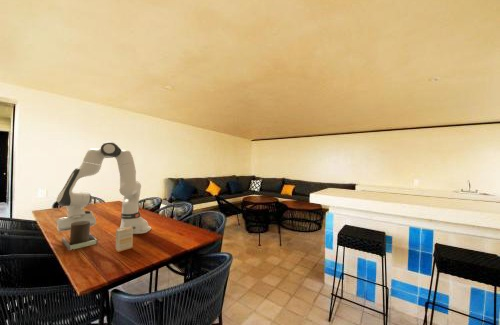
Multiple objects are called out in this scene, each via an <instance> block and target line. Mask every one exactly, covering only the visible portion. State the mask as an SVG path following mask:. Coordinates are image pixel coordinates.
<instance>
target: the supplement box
mask: <svg viewBox="0 0 500 325" xmlns="http://www.w3.org/2000/svg"><path fill="white" fill-rule="evenodd" d="M133 236H134V234H133V228H132V227H130V226H129V227H125V228H120V227H119V228H117V229H115V251H116V252H118V253H120V252H123V251H126V250H130V249H133V243H134V242H133V240H134V239H133Z"/></svg>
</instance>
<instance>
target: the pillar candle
mask: <svg viewBox="0 0 500 325" xmlns="http://www.w3.org/2000/svg"><path fill="white" fill-rule="evenodd" d="M90 229H91V226H90V221H79V222H74V223H72V224H71V230H70V234H69V235H70V237H69V245H75V244H79V243H84V242H88V241H90V238H89V234H91V232H90Z"/></svg>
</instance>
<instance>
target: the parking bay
mask: <svg viewBox="0 0 500 325" xmlns="http://www.w3.org/2000/svg"><path fill="white" fill-rule="evenodd" d="M61 241H62V243H63V244H64V246H65V247H66V249H67V250H68V251H72V249H73V250H76V249H81V248H85V247H88V246H93V245H97V244H98V239H97V238H96V237H95V236H93V234H92V233H90V234H89V241H88V242H84V243H79V244H75V245H70V242H68V241H67V239H66V238H65V237H64V236H63V237H62V239H61Z"/></svg>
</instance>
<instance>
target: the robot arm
mask: <svg viewBox="0 0 500 325" xmlns="http://www.w3.org/2000/svg"><path fill="white" fill-rule="evenodd" d="M107 158H108V159H109V158H110V159H111V158H114V159H115V160H116V163H117V167H118V173H119V193H120V195H122V196H124V197H123V200H122V203H121V204H122V205H121V214H120V215H121V216H120V220H121V222H120V226H119V229H120V228H125V227H129V226H130V227H132V228H133V235H138V234H145V233H148V232H149V231H150V230H152V227H151V226H150V225H149V223H148V221H147V220H146V219H145V218H143V217H142V216H141V214H142V212H139V202H140V195H141V190H142V189H141V188H142V185H141V182H140V181H137V179H136V178H137V171H136V166H135V162H134V160H135V159H134V157H133V155H132V152H131V151H130V150H127V149H121V148H120V147H119V146H118V145H117V144H116V143H115V142H113V141H107V142H106V141H105V142H104V143H102V145H101V146H100V148H90V149H88V150H87V151H86V153H85V156H84V158H83V161H82V163H81V164H80V166H79V167H77V168H74V170H73V171H72V172H71V174H70V175H69V177H68V179H67V181H66V183H65V185H64V186H63V187H62V189H61V191H60V192H59V193H58V195H57V197H56V203H57V204H58V205H60V206H61V207H66V210H67V214H66V215H67V217H66V216H65V217H59V218H57V219H56V221H55V223H56V225H57V227H56V230H57V232H59V233H60V232H65V231H71V224H72V223H74V222H79V221H90V227H93V226H95V225H96V224H97V219H96V217H95V214H93V211H92V210H84V208H86V207H87V206H88V205H90V204H91V203H92V200H93V198H92V195H91V193H89V192H83V191H73V190H74V187H75V186H76V183H77V182H78V181H79V180H80V179H82V178H87V177H92V176H94V175H96V174H98V173H99V172H100V170H101V168H102V164H103V161H104V159H107Z"/></svg>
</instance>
